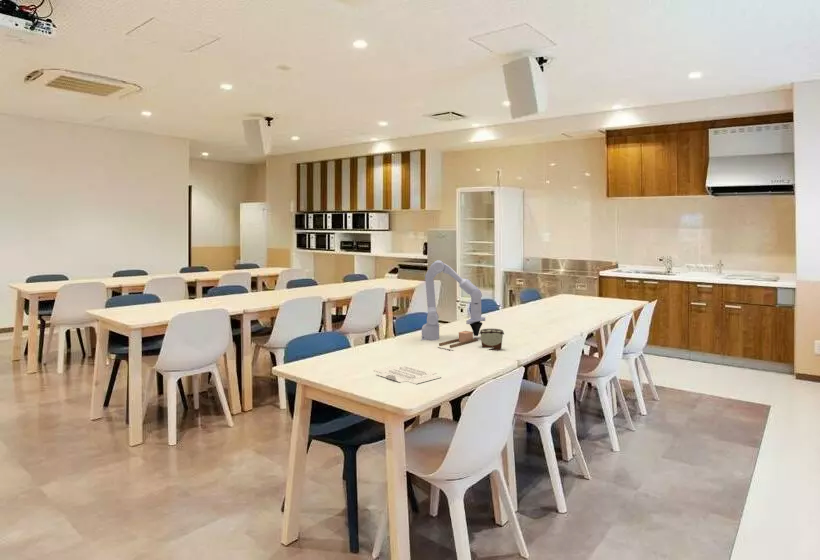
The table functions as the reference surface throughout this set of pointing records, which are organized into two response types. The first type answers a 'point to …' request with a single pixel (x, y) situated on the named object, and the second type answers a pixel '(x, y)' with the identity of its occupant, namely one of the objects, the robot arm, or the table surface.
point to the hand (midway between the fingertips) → (475, 335)
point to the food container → (491, 338)
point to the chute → (456, 343)
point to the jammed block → (465, 336)
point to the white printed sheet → (407, 374)
